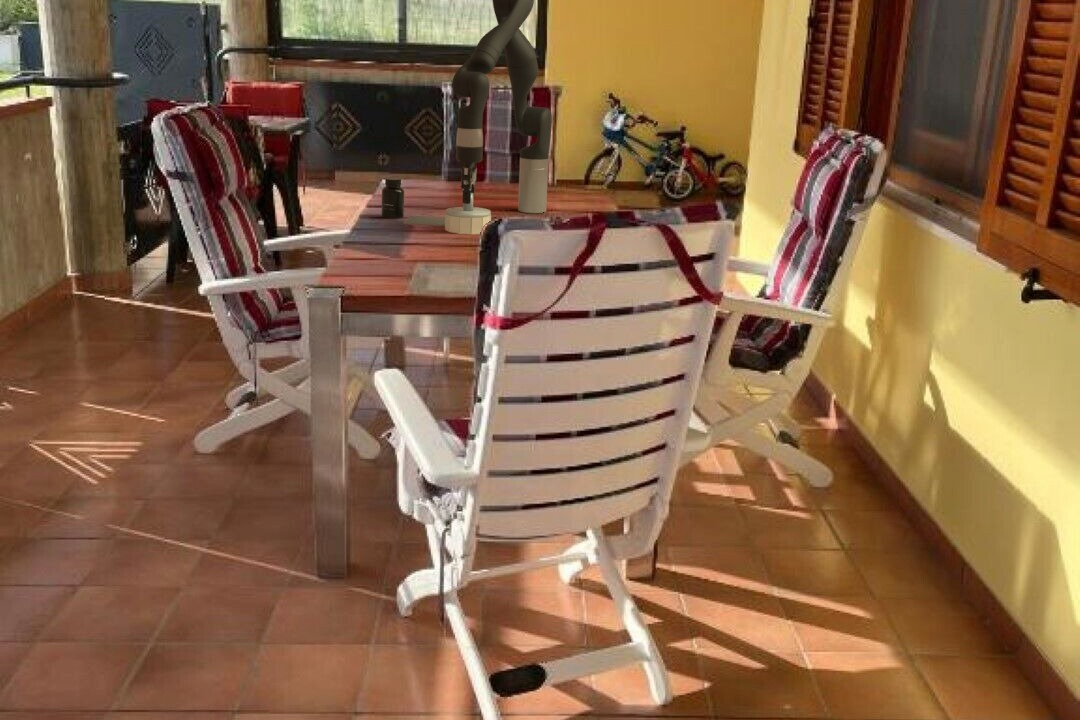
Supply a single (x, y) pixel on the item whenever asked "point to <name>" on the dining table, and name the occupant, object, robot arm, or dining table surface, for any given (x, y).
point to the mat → (425, 221)
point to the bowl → (465, 224)
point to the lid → (468, 211)
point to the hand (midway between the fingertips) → (468, 201)
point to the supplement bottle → (393, 199)
